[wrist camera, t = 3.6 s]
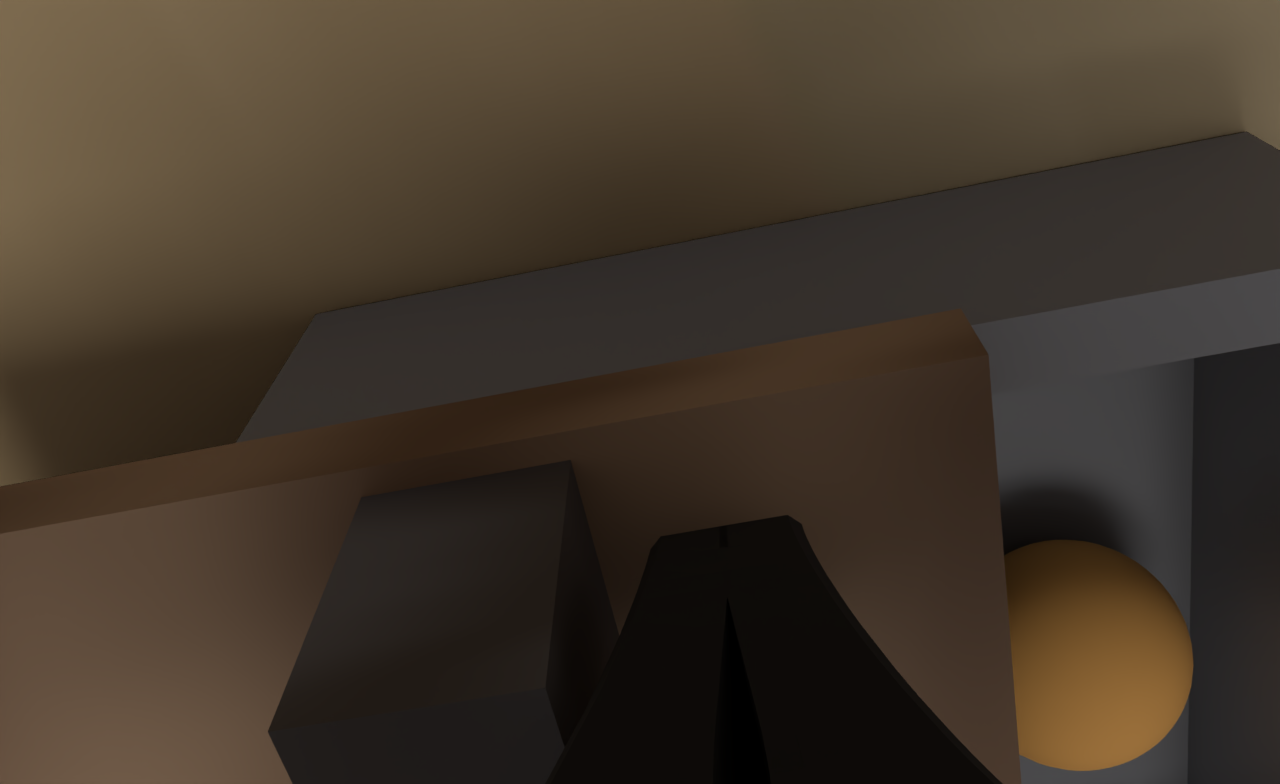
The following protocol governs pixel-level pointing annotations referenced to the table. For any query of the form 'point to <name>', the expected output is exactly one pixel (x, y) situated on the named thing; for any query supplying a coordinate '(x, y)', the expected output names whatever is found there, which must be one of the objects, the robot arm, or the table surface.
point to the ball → (1092, 655)
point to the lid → (491, 566)
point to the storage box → (1019, 371)
